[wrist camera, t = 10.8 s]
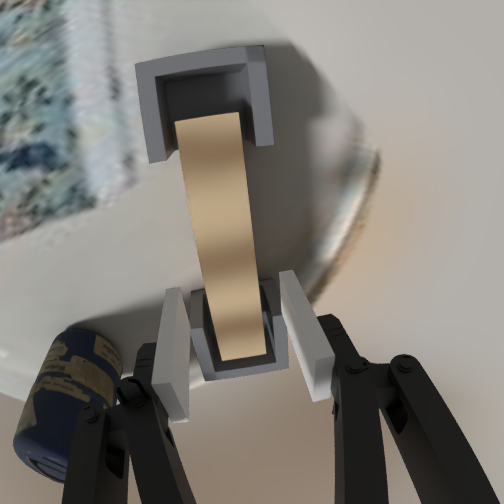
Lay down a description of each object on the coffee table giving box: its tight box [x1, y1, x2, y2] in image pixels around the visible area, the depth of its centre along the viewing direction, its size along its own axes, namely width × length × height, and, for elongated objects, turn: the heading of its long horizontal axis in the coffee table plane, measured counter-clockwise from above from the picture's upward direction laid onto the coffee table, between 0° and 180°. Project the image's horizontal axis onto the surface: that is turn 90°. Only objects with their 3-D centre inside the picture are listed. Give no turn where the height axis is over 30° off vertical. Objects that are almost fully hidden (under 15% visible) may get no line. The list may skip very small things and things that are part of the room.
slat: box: [175, 112, 266, 361], centre depth 25 cm, size 20×4×6 cm, turn 6°
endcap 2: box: [189, 279, 289, 381], centre depth 30 cm, size 7×8×6 cm
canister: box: [13, 329, 122, 484], centre depth 25 cm, size 10×10×18 cm
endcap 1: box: [135, 45, 274, 164], centre depth 21 cm, size 7×8×6 cm
